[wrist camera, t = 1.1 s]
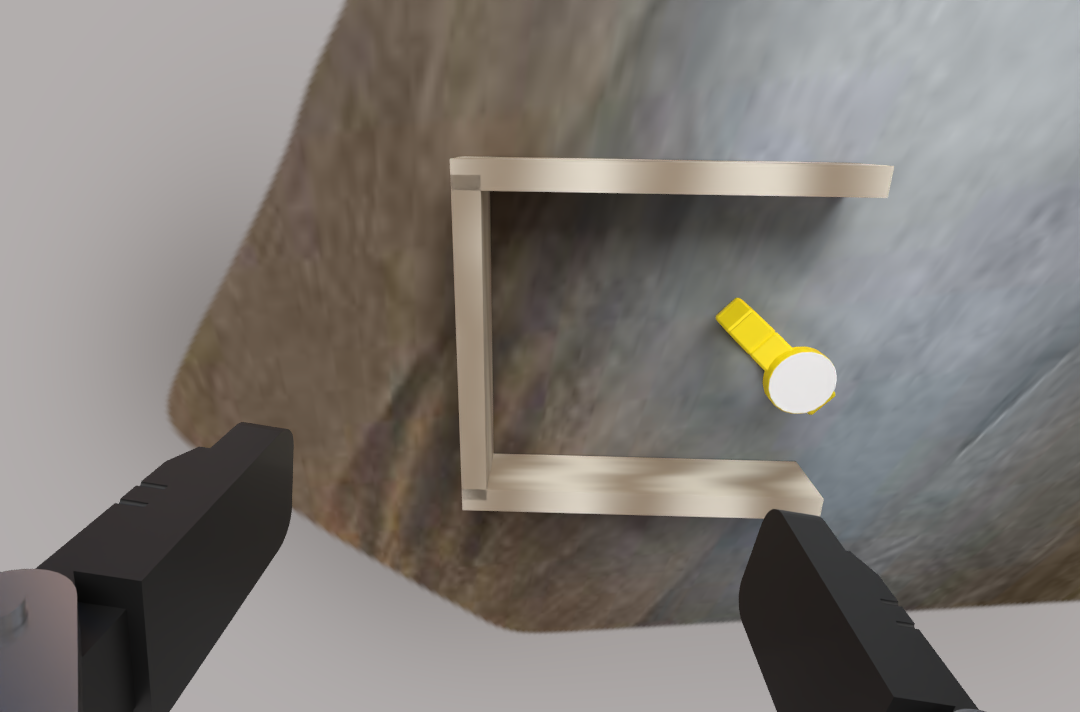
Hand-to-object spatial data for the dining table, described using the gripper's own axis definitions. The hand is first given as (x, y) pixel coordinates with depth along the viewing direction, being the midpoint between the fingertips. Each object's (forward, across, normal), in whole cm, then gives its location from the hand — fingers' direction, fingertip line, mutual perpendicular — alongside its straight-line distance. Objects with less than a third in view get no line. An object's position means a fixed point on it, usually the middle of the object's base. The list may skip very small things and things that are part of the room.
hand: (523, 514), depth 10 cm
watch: (+20, -11, +1) cm, 23 cm away
